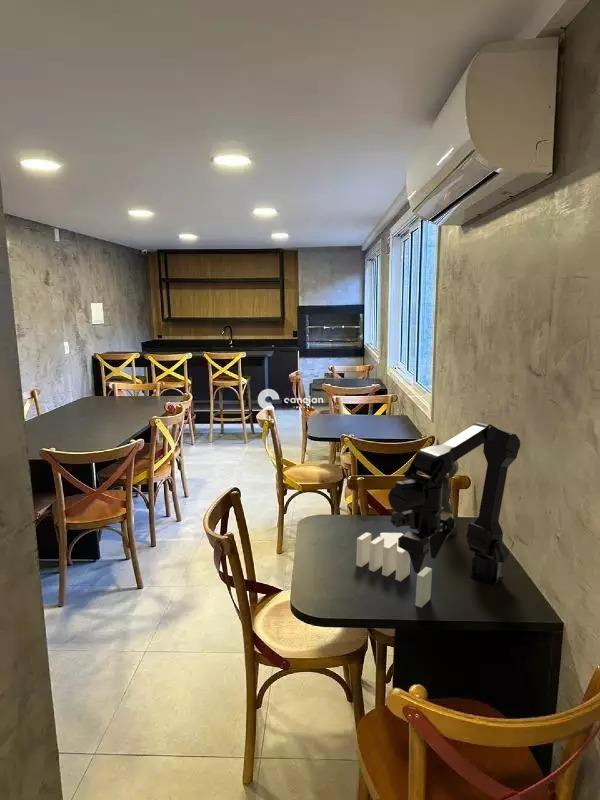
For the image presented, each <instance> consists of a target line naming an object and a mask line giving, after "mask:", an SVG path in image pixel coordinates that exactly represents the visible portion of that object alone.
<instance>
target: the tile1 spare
mask: <svg viewBox="0 0 600 800" xmlns="http://www.w3.org/2000/svg"><path fill="white" fill-rule="evenodd" d="M416 574H417V575H416V584H415V585H416V589H415V602H414V603H415V606H416V607H419V608H423V607H424V606H425V605H426V604H427V603H428V602H429V601H430V600H431V594H432V593H431V592H432V579H433V577H432V576H433V568H431V567H428V566H425V567H424V568H422V569H421V571H420V573H416Z"/></svg>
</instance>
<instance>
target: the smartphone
mask: <svg viewBox="0 0 600 800" xmlns="http://www.w3.org/2000/svg"><path fill="white" fill-rule="evenodd" d="M402 535H404V534H403V533H402V532H380V534H379V536H380V537H383V538H384V546H385V545H386V544H388V543H389V542H390V541H392V540H393V541H396V542H397V551H398V550H399V549H400V548H399V547H398V538H400V537H401V536H402Z"/></svg>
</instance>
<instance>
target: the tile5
mask: <svg viewBox="0 0 600 800" xmlns="http://www.w3.org/2000/svg"><path fill="white" fill-rule="evenodd" d="M371 541H372V533H370V532H366V531H365V532H364V533H363V534H361V535H360V536H359V537H357V538H356V560H355V561H356V562H355V563H356V565H355V566H357V567H359V568H362V567H364V566H365V565H366V564H369V555H370V542H371Z"/></svg>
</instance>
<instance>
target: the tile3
mask: <svg viewBox="0 0 600 800" xmlns="http://www.w3.org/2000/svg"><path fill="white" fill-rule="evenodd" d="M396 557H397V542H396V541H393V540H392V541H390V542H389V543H388V544H386V545H385V546H383V562H382V566H381V567H382V568H381V570H382V571H381V575H382V576H384V577H390V575H391V574H392V573H394V572H396Z"/></svg>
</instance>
